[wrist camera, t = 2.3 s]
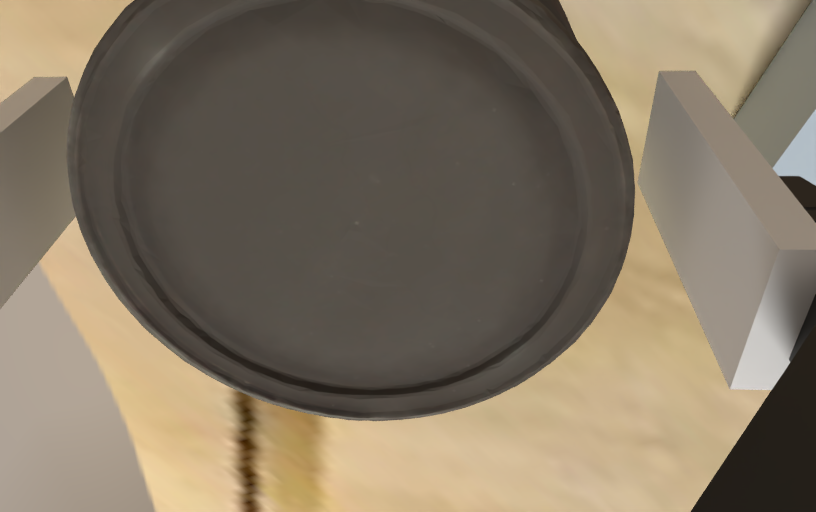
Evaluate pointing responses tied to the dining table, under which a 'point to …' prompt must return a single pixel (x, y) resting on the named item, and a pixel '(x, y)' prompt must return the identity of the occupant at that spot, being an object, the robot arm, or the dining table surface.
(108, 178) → the coffee can
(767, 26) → the dining table surface
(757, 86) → the blue grey brick
